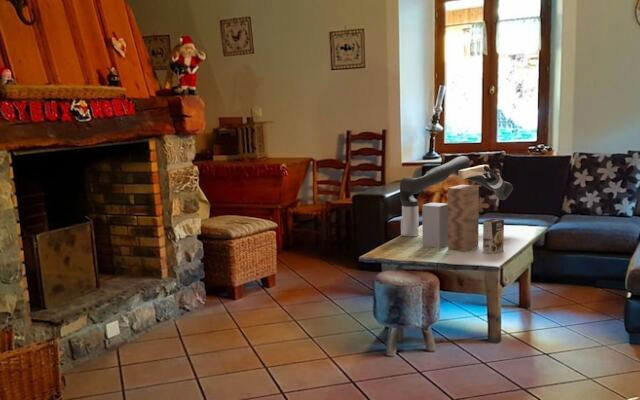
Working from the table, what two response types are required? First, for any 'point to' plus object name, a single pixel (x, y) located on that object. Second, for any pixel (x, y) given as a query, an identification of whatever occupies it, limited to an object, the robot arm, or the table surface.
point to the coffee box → (493, 236)
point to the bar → (472, 171)
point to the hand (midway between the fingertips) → (481, 167)
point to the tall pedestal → (463, 217)
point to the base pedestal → (435, 224)
